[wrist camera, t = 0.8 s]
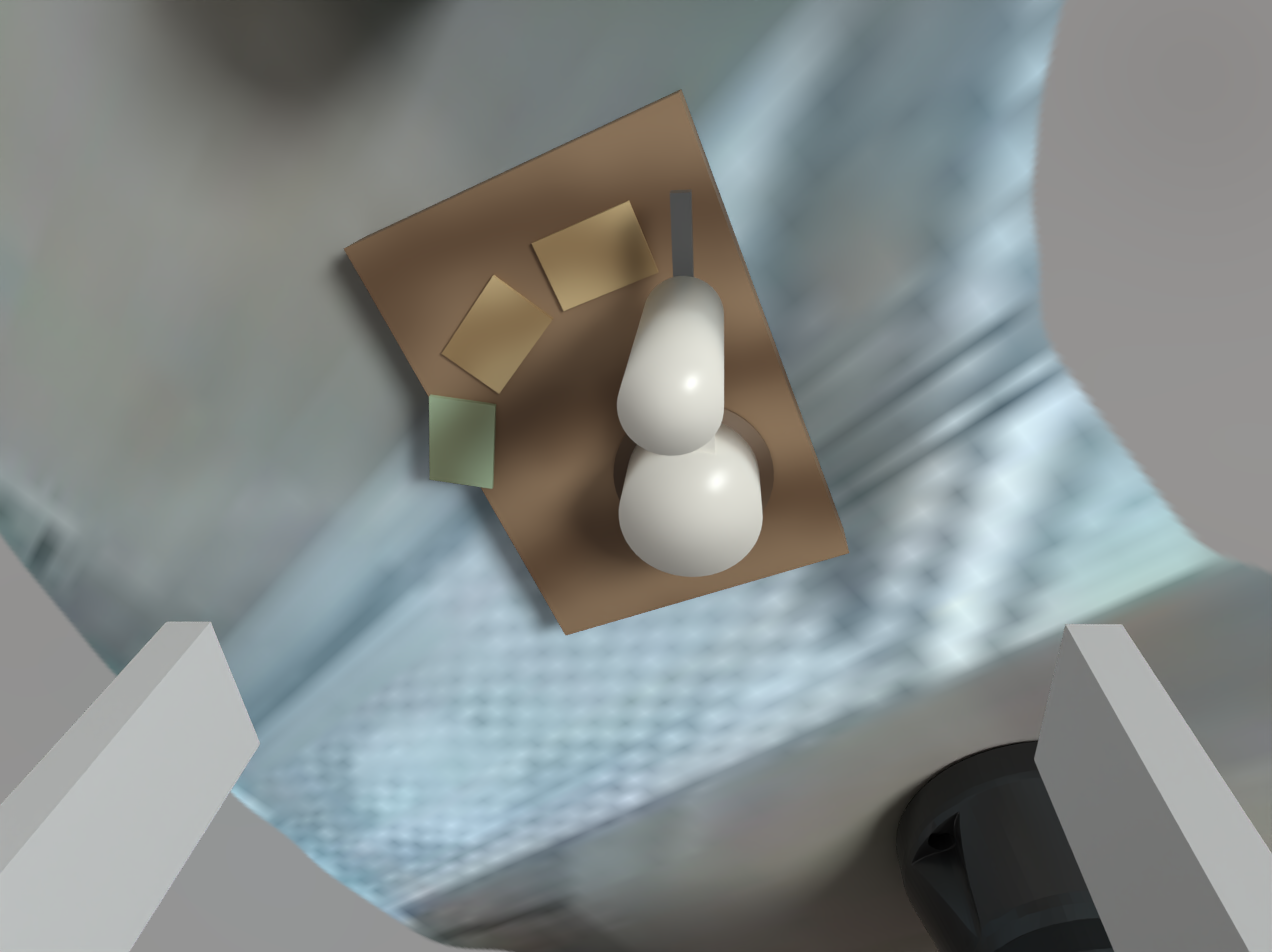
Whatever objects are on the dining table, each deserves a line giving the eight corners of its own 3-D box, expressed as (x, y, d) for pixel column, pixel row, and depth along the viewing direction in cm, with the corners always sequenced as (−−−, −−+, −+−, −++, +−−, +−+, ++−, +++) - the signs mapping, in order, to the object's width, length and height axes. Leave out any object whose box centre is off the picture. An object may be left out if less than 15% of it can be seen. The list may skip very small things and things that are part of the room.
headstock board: (843, 529, 38) (849, 555, 36) (539, 619, 42) (530, 647, 40) (681, 89, 30) (678, 92, 28) (326, 254, 34) (302, 268, 32)
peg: (758, 533, 36) (771, 718, 26) (631, 533, 37) (597, 714, 27) (762, 177, 29) (782, 248, 19) (606, 184, 30) (548, 257, 20)
